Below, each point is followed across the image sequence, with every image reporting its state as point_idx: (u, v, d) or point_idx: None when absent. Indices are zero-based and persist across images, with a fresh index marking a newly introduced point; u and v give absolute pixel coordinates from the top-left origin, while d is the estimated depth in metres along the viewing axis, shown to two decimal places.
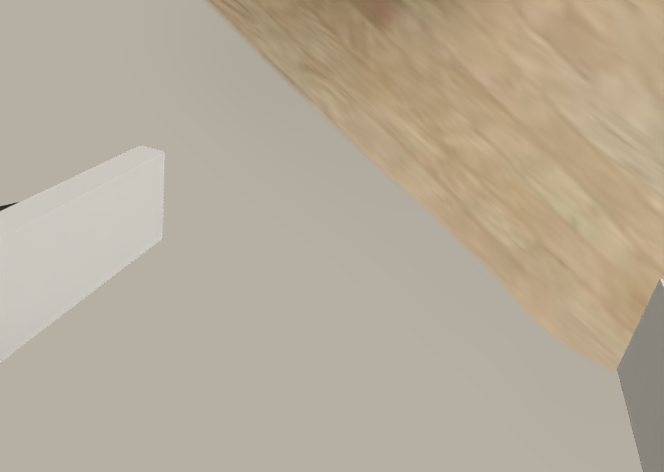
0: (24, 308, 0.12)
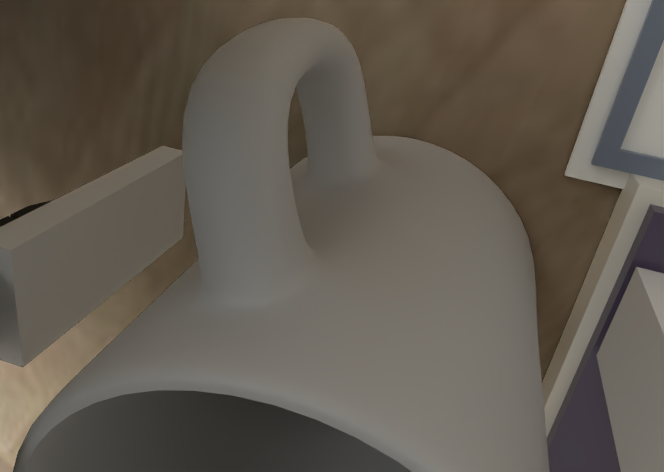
0: (56, 305, 0.12)
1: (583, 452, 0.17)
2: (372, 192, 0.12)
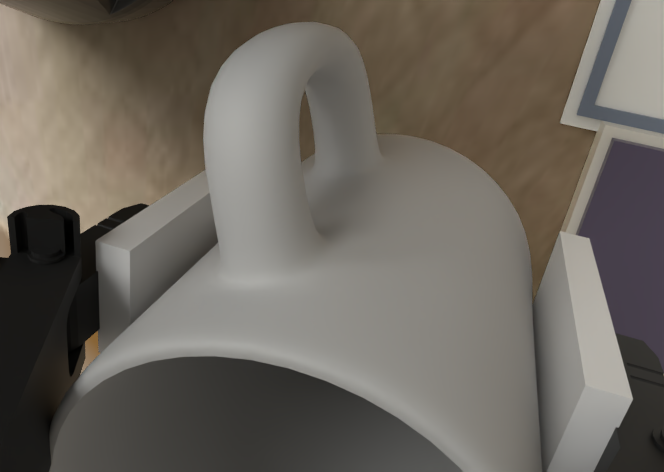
0: None
1: None
2: (376, 185, 0.13)
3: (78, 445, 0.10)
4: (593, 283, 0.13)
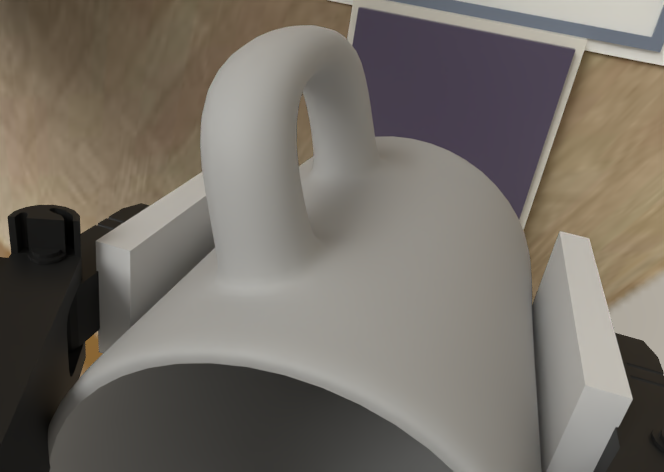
0: None
1: None
2: (374, 189, 0.13)
3: (75, 451, 0.10)
4: (593, 283, 0.13)
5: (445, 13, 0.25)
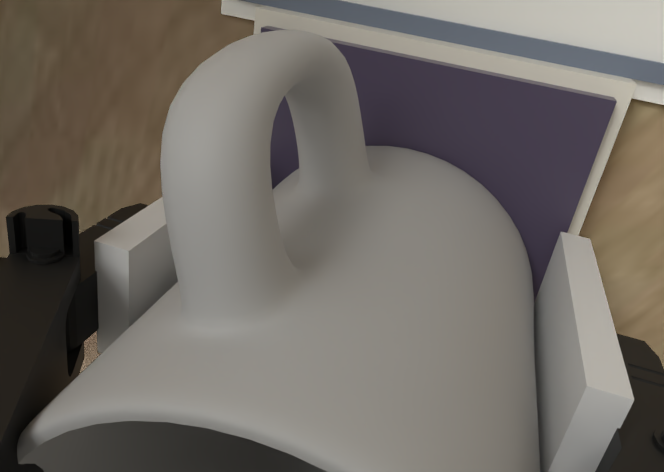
0: None
1: None
2: (363, 207, 0.12)
3: None
4: (594, 283, 0.13)
5: (401, 37, 0.15)
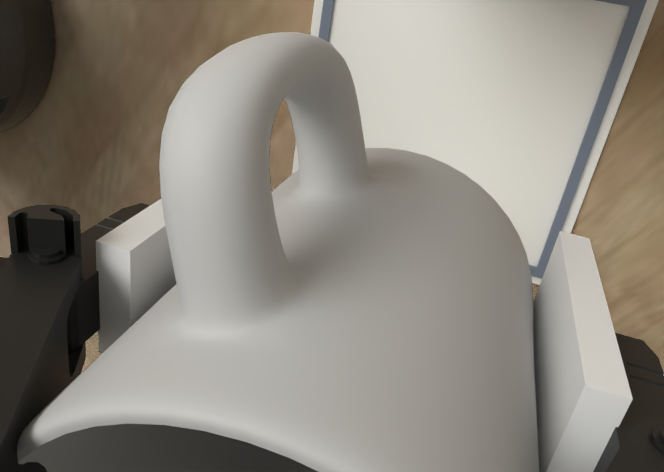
0: None
1: None
2: (363, 209, 0.12)
3: None
4: (593, 283, 0.13)
5: None
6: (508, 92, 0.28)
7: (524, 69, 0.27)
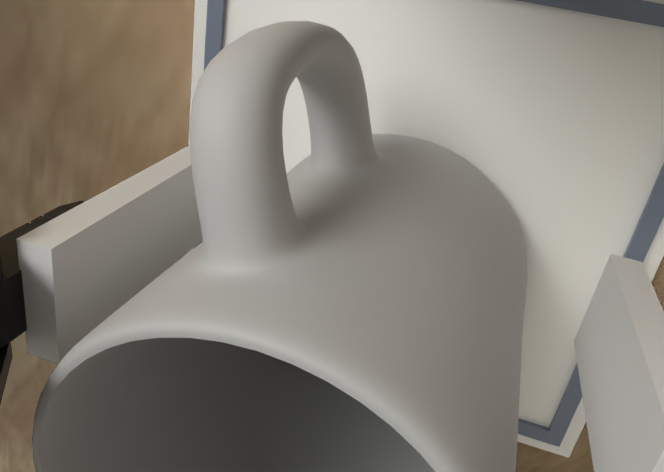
0: (90, 303, 0.13)
1: None
2: (367, 182, 0.13)
3: (66, 423, 0.11)
4: (656, 314, 0.12)
5: None
6: (504, 171, 0.17)
7: (531, 136, 0.17)
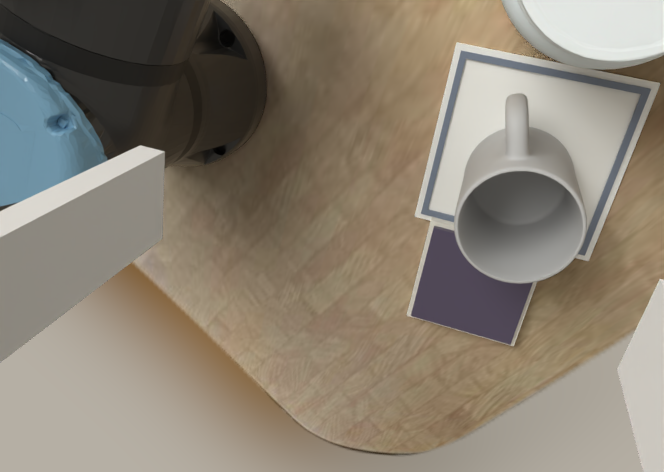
0: (24, 308, 0.12)
1: (424, 303, 0.54)
2: (531, 141, 0.42)
3: (463, 205, 0.40)
4: None
5: None
6: (566, 140, 0.46)
7: (576, 127, 0.45)
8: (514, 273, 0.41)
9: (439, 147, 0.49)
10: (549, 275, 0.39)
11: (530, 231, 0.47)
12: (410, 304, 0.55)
